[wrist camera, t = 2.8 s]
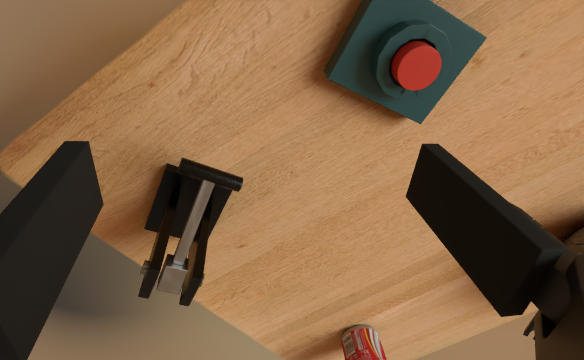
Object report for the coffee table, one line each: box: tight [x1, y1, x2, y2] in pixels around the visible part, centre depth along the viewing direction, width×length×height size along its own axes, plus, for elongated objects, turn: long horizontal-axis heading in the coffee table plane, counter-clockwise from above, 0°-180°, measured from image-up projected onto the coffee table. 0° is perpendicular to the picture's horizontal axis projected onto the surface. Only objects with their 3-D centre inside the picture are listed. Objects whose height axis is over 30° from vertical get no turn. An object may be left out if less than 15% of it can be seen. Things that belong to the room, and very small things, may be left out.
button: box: [391, 41, 441, 91], centre depth 31 cm, size 4×4×2 cm
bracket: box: [138, 164, 232, 306], centre depth 38 cm, size 10×8×13 cm
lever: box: [157, 158, 243, 294], centre depth 34 cm, size 13×6×2 cm, turn 153°
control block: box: [324, 0, 487, 124], centre depth 33 cm, size 12×10×4 cm
